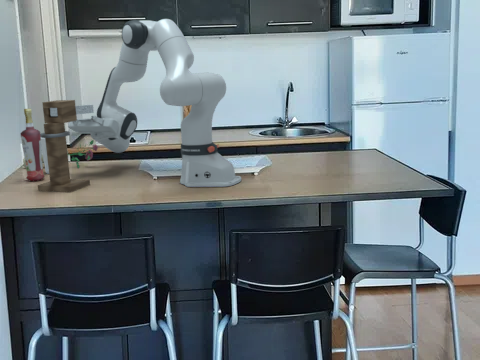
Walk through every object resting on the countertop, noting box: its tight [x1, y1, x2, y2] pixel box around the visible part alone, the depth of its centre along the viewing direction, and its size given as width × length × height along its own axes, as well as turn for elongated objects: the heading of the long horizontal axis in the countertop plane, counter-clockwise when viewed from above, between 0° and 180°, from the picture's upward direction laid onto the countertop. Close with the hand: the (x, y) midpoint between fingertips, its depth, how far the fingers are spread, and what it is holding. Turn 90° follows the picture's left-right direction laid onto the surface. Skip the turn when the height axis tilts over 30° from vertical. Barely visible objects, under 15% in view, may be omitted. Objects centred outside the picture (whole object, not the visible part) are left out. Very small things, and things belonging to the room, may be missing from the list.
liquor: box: [20, 108, 45, 182], centre depth 235 cm, size 7×7×28 cm
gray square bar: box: [50, 104, 95, 116], centre depth 225 cm, size 3×22×3 cm, turn 159°
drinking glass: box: [41, 137, 49, 175], centre depth 250 cm, size 7×7×15 cm
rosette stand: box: [37, 99, 91, 193], centre depth 218 cm, size 14×13×31 cm
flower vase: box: [22, 139, 99, 169], centre depth 262 cm, size 12×12×35 cm
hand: (82, 117), depth 230 cm, fingers open, 8 cm apart
